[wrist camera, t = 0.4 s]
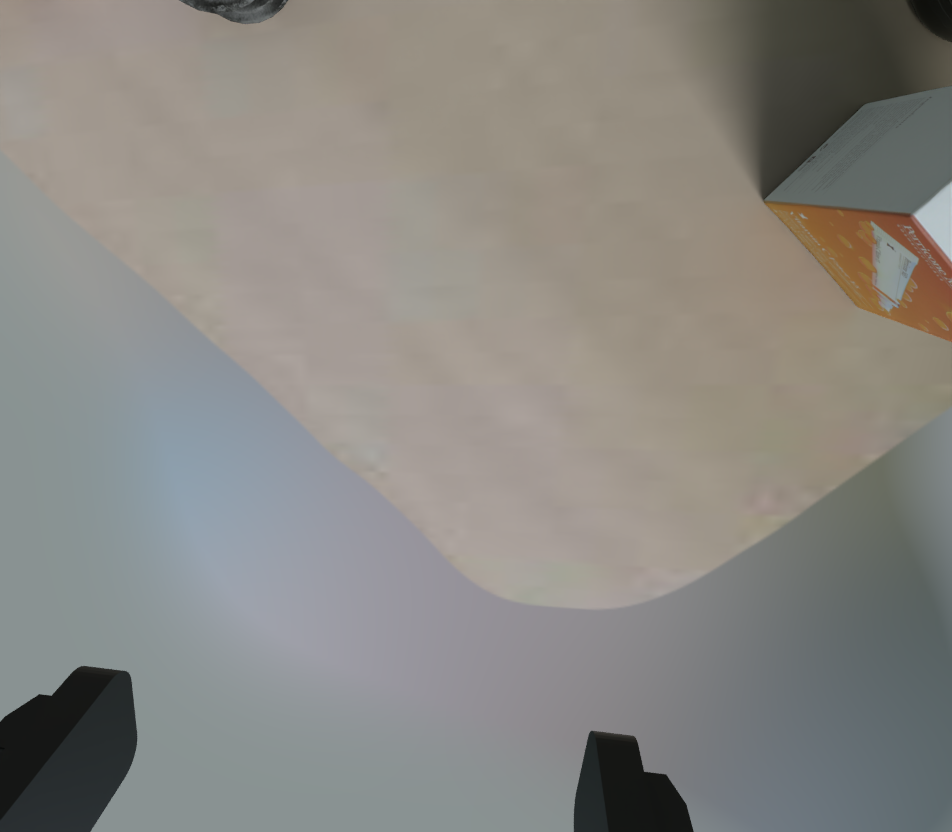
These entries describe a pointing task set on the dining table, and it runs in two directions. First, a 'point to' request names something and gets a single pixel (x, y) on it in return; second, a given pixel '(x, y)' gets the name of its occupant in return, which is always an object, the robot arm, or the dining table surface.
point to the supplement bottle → (936, 16)
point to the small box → (882, 208)
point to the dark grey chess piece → (239, 9)
